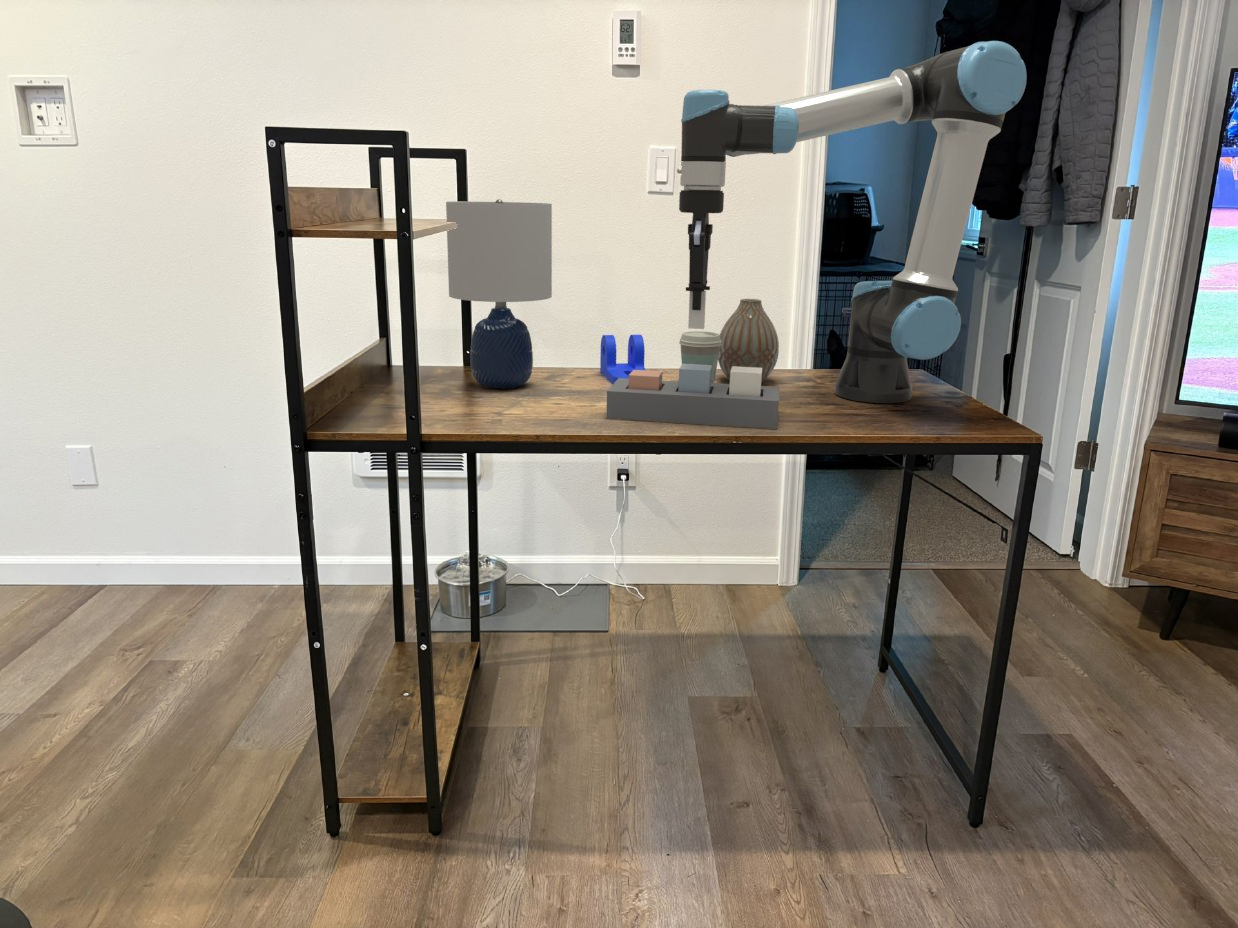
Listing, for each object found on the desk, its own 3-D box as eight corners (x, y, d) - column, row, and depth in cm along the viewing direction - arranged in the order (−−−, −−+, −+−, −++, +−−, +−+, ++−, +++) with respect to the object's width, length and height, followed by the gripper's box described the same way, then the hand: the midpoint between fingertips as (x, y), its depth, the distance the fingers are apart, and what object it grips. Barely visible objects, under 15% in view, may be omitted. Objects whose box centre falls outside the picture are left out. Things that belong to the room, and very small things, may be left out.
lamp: (503, 401, 173) (500, 200, 162) (431, 386, 184) (423, 197, 174) (571, 385, 188) (572, 201, 178) (501, 372, 200) (498, 198, 189)
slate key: (710, 389, 166) (712, 365, 164) (708, 395, 160) (709, 370, 159) (681, 387, 166) (682, 363, 165) (678, 393, 161) (679, 369, 160)
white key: (760, 391, 164) (762, 367, 163) (759, 398, 159) (761, 373, 158) (730, 390, 165) (732, 366, 164) (728, 396, 160) (730, 371, 159)
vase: (774, 376, 202) (780, 297, 197) (778, 388, 190) (784, 304, 185) (715, 374, 203) (719, 295, 198) (715, 386, 191) (719, 302, 186)
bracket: (600, 373, 203) (600, 332, 200) (636, 372, 205) (637, 332, 202) (617, 390, 186) (618, 346, 183) (656, 388, 188) (658, 345, 185)
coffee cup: (717, 398, 179) (720, 338, 176) (674, 396, 181) (676, 336, 177) (721, 390, 187) (724, 332, 184) (680, 387, 189) (682, 329, 185)
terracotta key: (661, 394, 167) (662, 371, 166) (657, 401, 162) (658, 376, 161) (632, 393, 168) (633, 369, 167) (628, 399, 163) (628, 375, 162)
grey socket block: (777, 413, 168) (779, 387, 167) (776, 429, 157) (778, 401, 155) (618, 403, 173) (618, 378, 171) (606, 418, 162) (606, 391, 160)
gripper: (684, 188, 160) (679, 322, 167) (675, 188, 148) (670, 332, 155) (726, 189, 159) (720, 324, 166) (721, 189, 147) (714, 334, 154)
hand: (696, 328), depth 160 cm, fingers closed
